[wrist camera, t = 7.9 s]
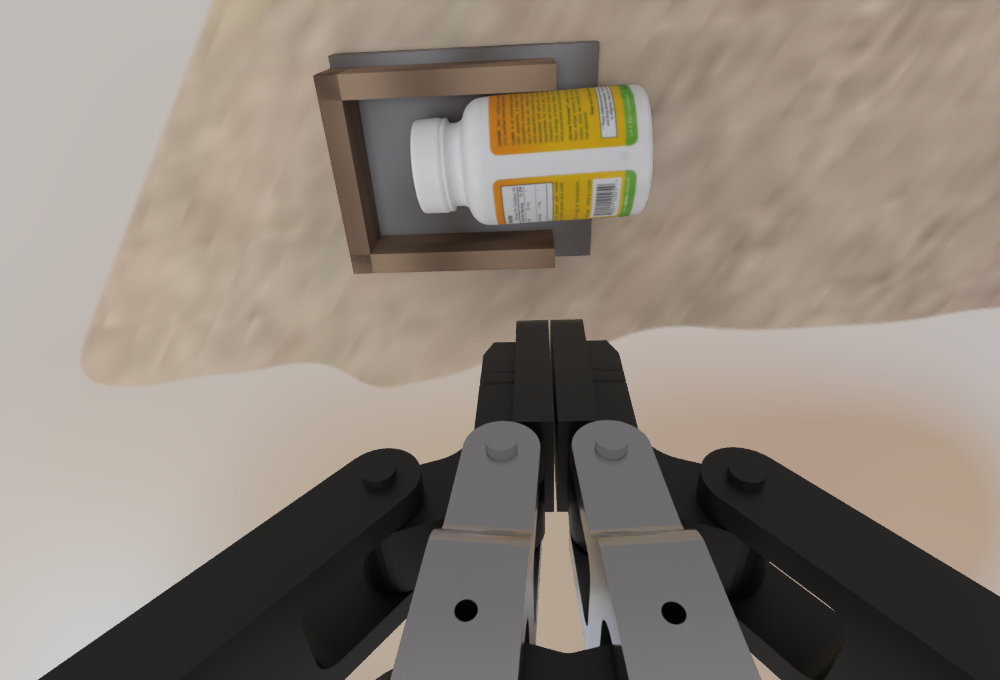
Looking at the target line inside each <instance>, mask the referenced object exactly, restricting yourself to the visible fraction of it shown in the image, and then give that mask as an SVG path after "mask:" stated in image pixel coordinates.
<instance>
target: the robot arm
mask: <svg viewBox="0 0 1000 680" xmlns="http://www.w3.org/2000/svg"><path fill="white" fill-rule="evenodd" d="M554 464H555V482H556V500H557V512H568V514H569V526H570V529H569V550H570V556H571V562H572V568H573V574H574V580H575V587H576V592H577V599H578V605H579V611H580V617H581V623H582V630H583V636H584V645H585V650H583V651H579V652H575V653H562V652H558V651H554V650H551V649H547V648H544V647H540V646H536V628H537V613H538V599H539V583H540V567H541V552H542V551H541V550H542V539H543V537H544V533H545V512H554ZM769 561H770V562H771V563H773V564H774V565H775V566H777V567H778V568H779V569H781V570H782V571H783V572H785V573H786V574H787V575H789V576H790V577H791V578H793V579H794V580H795V581H797V582H798V583H799V584H801V585H802V586H803V587H805V588H806V589H807V590H809V591H810V592H811V593H813V594H814V595H816V596H817V597H818V598H820V599H821V600H822V601H823V602H825V603H826V604H828V605H829V606H830V607H831V608H832V609H833V610H834V611H833V610H832V609H831V608H829V607H828V606H826V605H825V604H824V603H822V602H821V601H820V600H818V599H817V598H816V597H814V596H813V595H812V594H810V593H809V592H808V591H806V590H805V589H804V588H802V587H801V586H800V585H798V584H797V583H796V582H794V581H793V580H792V579H790V578H789V577H788V576H786V575H785V574H784V573H782V572H781V571H780V570H778V569H777V568H776V567H774V566H773V565H772V564H770V563H769ZM406 618H407V620H406V623H405V627H404V631H403V634H402V638H401V642H400V645H399V649H398V653H397V657H396V660H395V664H394V668H393V669H392V670H390V671H388V672H386V673H385V674H383V675H382V676H380V677H379V678H377V679H376V680H761V677H760V675H759V673H758V670H757V668H756V665H755V663H754V660H753V658H752V656H751V653H752V654H753V655H754V656H755V657H756V658H757V659H758V660H760V661H761V662H762V663H763V664H764V665H765V666H766V667H768V668H769V669H770V670H771V671H772V672H773V673H774V674H775V675H776V676H777V677H779V678H780V679H781V680H1000V596H998V595H996V594H995V593H993V592H991V591H990V590H988V589H986V588H985V587H983V586H981V585H980V584H978V583H976V582H975V581H973V580H971V579H970V578H968V577H966V576H965V575H963V574H961V573H960V572H958V571H957V570H955V569H953V568H952V567H950V566H948V565H947V564H945V563H943V562H942V561H940V560H938V559H937V558H935V557H933V556H932V555H930V554H928V553H927V552H925V551H923V550H922V549H920V548H918V547H917V546H915V545H913V544H912V543H910V542H908V541H907V540H905V539H903V538H902V537H900V536H899V535H896V534H895V533H894V532H892V531H890V530H889V529H887V528H885V527H884V526H882V525H880V524H879V523H877V522H875V521H874V520H872V519H870V518H869V517H867V516H865V515H864V514H862V513H860V512H859V511H857V510H855V509H854V508H852V507H850V506H849V505H847V504H845V503H844V502H842V501H841V500H839V499H837V498H836V497H834V496H832V495H831V494H829V493H827V492H826V491H824V490H822V489H820V488H819V487H817V486H816V485H814V484H812V483H811V482H809V481H807V480H806V479H804V478H802V477H801V476H799V475H797V474H796V473H794V472H792V471H791V470H789V469H787V468H786V467H784V466H783V465H781V464H779V463H777V462H776V461H774V460H773V459H771V458H769V457H767V456H765V455H763V454H761V453H759V452H756V451H753V450H749V449H744V448H736V447H731V448H722V449H718V450H715V451H713V452H711V453H710V454H708V455H707V456H706V457H705V458H704V460H703V462H702V464H700V463H696V462H691V461H687V460H683V459H678V458H675V457H671V456H669V455H666V454H663V453H662V452H660V451H658V450H656V449H655V448H653V447H652V446H651V444H650V442H649V440H648V438H647V437H646V436H645V434H643V433H642V432H641V431H640V430H639V429H638V427H637V423H636V419H635V415H634V411H633V407H632V404H631V400H630V395H629V392H628V388H627V384H626V380H625V376H624V372H623V368H622V364H621V360H620V356H619V353H618V352H617V351H616V350H615V349H614V348H613V347H612V346H611V345H610V344H609V343H608V342H607V341H606V340H600V341H586V337H585V331H584V325H583V320H582V319H575V320H551V322H550V345H549V329H548V320H533V321H517V324H516V342H498V343H493V345H492V346H491V347H490V348H489V349H488V351H487V352H486V353H485V354H484V355H483V363H482V373H481V379H480V387H479V396H478V404H477V412H476V420H475V428H474V431H472V432H471V433H470V434H469V435H468V436H467V438H466V440H465V442H464V445H463V448H462V449H461V450H460V451H458V452H457V453H455V454H453V455H451V456H449V457H447V458H444V459H440V460H437V461H433V462H429V463H425V464H422V465H419V463H418V461H417V460H416V458H415V457H414V456H412V455H411V454H410V453H408V452H406V451H403V450H399V449H392V448H391V449H390V448H386V449H378V450H374V451H371V452H367V453H365V454H363V455H361V456H359V457H358V458H356V459H354V460H353V461H352V462H350V463H349V464H347V465H346V466H344V467H343V468H341V469H340V470H339V471H337V472H336V473H334V474H333V475H331V476H330V477H328V478H327V479H326V480H324V481H323V482H321V483H320V484H318V485H317V486H316V487H314V488H313V489H312V490H310V491H308V492H307V493H306V494H304V495H303V496H301V497H300V498H298V499H297V500H295V501H294V502H293V503H291V504H290V505H288V506H287V507H285V508H284V509H283V510H281V511H280V512H278V513H277V514H275V515H274V516H273V517H271V518H270V519H268V520H267V521H265V522H264V523H262V524H261V525H260V526H258V527H257V528H255V529H254V530H252V531H251V532H249V533H248V534H247V535H245V536H244V537H242V538H241V539H239V540H238V541H237V542H235V543H234V544H232V545H231V546H229V547H228V548H227V549H225V550H224V551H222V552H221V553H219V554H218V555H216V556H215V557H214V558H212V559H211V560H209V561H208V562H207V563H205V564H204V565H202V566H201V567H199V568H198V569H196V570H195V571H194V572H192V573H191V574H189V575H188V576H186V577H185V578H183V579H182V580H181V581H179V582H178V583H176V584H175V585H173V586H172V587H170V588H169V589H168V590H166V591H165V592H163V593H162V594H160V595H159V596H158V597H156V598H155V599H153V600H152V601H150V602H149V603H148V604H146V605H145V606H143V607H142V608H140V609H139V610H138V611H136V612H135V613H134V614H132V615H130V616H129V617H127V618H126V619H125V620H123V621H122V622H120V623H119V624H117V625H116V626H114V627H113V628H112V629H110V630H109V631H107V632H106V633H104V634H103V635H102V636H100V637H99V638H97V639H96V640H94V641H93V642H91V643H90V644H89V645H87V646H86V647H84V648H83V649H81V650H80V651H79V652H77V653H76V654H74V655H73V656H72V657H70V658H68V659H67V660H66V661H64V662H63V663H61V664H60V665H58V666H57V667H56V668H54V669H53V670H51V671H50V672H48V673H47V674H46V675H44V676H43V677H41V678H40V679H38V680H345V679H346V678H347V677H348V676H349V675H350V674H351V673H352V672H353V671H354V670H355V669H356V668H357V667H358V666H359V665H360V664H361V663H362V662H363V661H364V660H365V659H366V658H367V657H368V656H369V655H370V654H371V653H372V652H373V651H374V650H375V649H376V648H377V647H378V646H379V645H380V644H381V643H382V642H383V641H384V640H385V639H386V638H387V637H388V636H389V635H390V634H391V633H392V632H393V631H394V630H395V629H396V628H397V627H398V626H399V625H400V624H401V623H402V622H403V621H404V620H405V619H406ZM750 652H751V653H750Z"/></svg>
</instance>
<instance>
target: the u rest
mask: <svg viewBox="0 0 1000 680" xmlns="http://www.w3.org/2000/svg"><path fill="white" fill-rule="evenodd" d="M328 57H329V63H330V69H328V70H325V71H323V72H320V73H318V74H316V75H313V77H314V82H315V87H316V92H317V97H318V102H319V106H320V111H321V116H322V121H323V126H324V131H325V135H326V140H327V145H328V150H329V155H330V160H331V165H332V169H333V174H334V179H335V184H336V189H337V194H338V199H339V203H340V208H341V213H342V218H343V223H344V228H345V232H346V237H347V242H348V247H349V252H350V257H351V262H352V266H353V271H354V274H362V273H395V272H428V271H461V270H494V269H527V268H555V256H581V255H590V241H591V219H576V220H561V221H547V222H531V223H515V224H502V225H486V224H483V223H481V222H479V221H478V220H477V219H476V218H475V217H474V216H473V214H472V213H471V211H470V209H469V207H467V206H457V209H456V211H451V212H449V213H425V212H423V210H422V209H421V207H420V204H419V201H418V198H417V194H416V190H415V185H414V180H413V174H412V165H411V152H410V140H411V129H412V125H413V122H414V121H415V120H420V119H429V118H441V119H443V118H447V119H448V121H449V123H455V122H459V121H460V120H461V119H462V116H463V112H464V110H465V108H466V106H467V105H468V104H469V103H470V102H471V101H473V100H474V99H476V98H480V97H487V96H494V95H506V94H516V93H529V92H541V91H556V90H567V89H580V88H593V87H597V80H598V57H599V42H598V41H580V42H560V43H540V44H520V45H500V46H480V47H460V48H440V49H421V50H401V51H381V52H361V53H341V54H333V55H330V56H328Z"/></svg>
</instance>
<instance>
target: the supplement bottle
mask: <svg viewBox="0 0 1000 680" xmlns="http://www.w3.org/2000/svg"><path fill="white" fill-rule="evenodd" d="M410 152H411V165H412V174H413V180H414V185H415V190H416V194H417V198H418V201H419V204H420V207H421V209H422V210H423V212H425V213H449V212H451V211H456V209H457V206H467V207H469V209H470V211H471V213H472V214H473V216H474V217H475V218H476V219H477V220H478V221H479V222H481V223H483V224H486V225H502V224H515V223H531V222H547V221H561V220H576V219H591V218H607V217H622V216H632V215H637V214H639V213H640V212H642V210H643V209H644V207H645V205H646V203H647V200H648V197H649V193H650V188H651V182H652V174H653V130H652V117H651V110H650V103H649V98H648V95H647V93H646V91H645V90H644V88H643V87H641V86H639V85H635V84H633V85H615V86H603V87H593V88H580V89H567V90H556V91H541V92H529V93H516V94H506V95H494V96H487V97H480V98H476V99H474V100H473V101H471V102H470V103H469V104H468V105H467V106H466V108H465V110H464V112H463V116H462V119H461V120H460V121H459V122H455V123H449V121H448V119H447V118H443V119H441V118H429V119H420V120H415V121H414V122H413V125H412V129H411V140H410Z"/></svg>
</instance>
